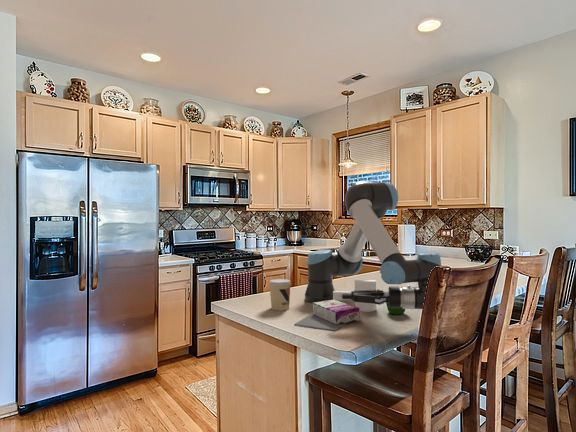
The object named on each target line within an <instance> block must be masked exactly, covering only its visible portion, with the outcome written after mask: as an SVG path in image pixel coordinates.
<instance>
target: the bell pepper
mask: <svg viewBox="0 0 576 432" xmlns="http://www.w3.org/2000/svg"><path fill="white" fill-rule="evenodd" d="M385 304H386V307H387V311H388V313H389V314H391V315H394V316H395V315H396V316H399V315H401V314H404V313H405V312H406V309H403V308H402V307H400V308H390V307H389V302H386V303H385Z"/></svg>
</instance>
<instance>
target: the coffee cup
mask: <svg viewBox="0 0 576 432" xmlns="http://www.w3.org/2000/svg"><path fill="white" fill-rule="evenodd" d="M291 283H292V282H291V280H290V279H287V278H273V279H270V280H269V282H268V284H269V295H270V304H271V305H270V306H271V309H272V310H273V309H276V310H275V311H284V310H283V309H287V310H289V309H290V300H291V299H290V298H291ZM288 308H289V309H288Z"/></svg>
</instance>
